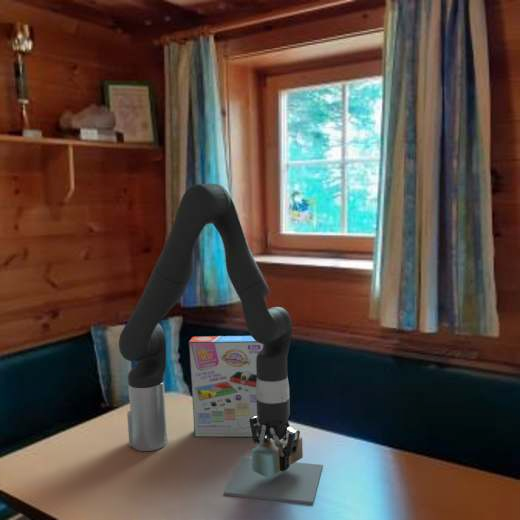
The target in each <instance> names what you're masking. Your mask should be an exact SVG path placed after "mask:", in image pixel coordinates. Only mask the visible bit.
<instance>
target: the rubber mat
mask: <svg viewBox="0 0 520 520" xmlns="http://www.w3.org/2000/svg"><path fill="white" fill-rule="evenodd" d="M323 466H324V465H323V464H319V463H318V464H317V463H307V462H298V461H296V462H295V463H293V464H291V465H289V468H288V469H287V470H285V471H284V472H282V471H279V472H278V473H276V474H274V475H273V476H271V477H269V478H267V477H265V476H263V475H261V474H258V473H256V472H254V471H252V457H242V458H241V459H240V462H239V463H238V465H237V467H236V469H235V471H234V473H233V474H232V476H231V478H230V480H229V481H228V483H227V485H226V487H225V489H224V491H223V495H224V496H233V497H242V498H248V499H249V498H251V499H259V500H260V499H261V500H270V501H276V502H277V501H280V502H287V503H288V502H289V503H297V504H306V505H307V504H308V505H314V503H315V498H316V493H317V490H318V487H319V483H320V479H321V476H322V471H323V468H324V467H323Z"/></svg>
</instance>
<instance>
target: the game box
mask: <svg viewBox="0 0 520 520" xmlns="http://www.w3.org/2000/svg"><path fill="white" fill-rule="evenodd" d="M263 347H264V344H261V343H259V342H257V341H256V340H254V339H253V337H252V336H251V335H225V336H224V335H215V336H214V335H212V336H211V335H209V336H206V335H205V336H203V335H202V336H198V335H197V336H192V337H191V339H190V340H189V341H188V349H189V350H188V351H189V366H190V381H191V383H190V384H191V395H192V397H191V398H192V412H193V435H194V437H196V438H197V437H199V438H200V437H202V438H203V437H204V438H205V437H212V438H213V437H215V438H217V437H219V438H221V437H223V438H253V436H252V432H251V427H250V422H249V419H250V418H252V417H254V416H256V415H257V401H256V382H257V370H256V358H257V355H258V353H259V352H260V351H261V350H262V348H263ZM258 436H259V435H258V432H257V437H258Z"/></svg>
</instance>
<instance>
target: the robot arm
mask: <svg viewBox="0 0 520 520" xmlns="http://www.w3.org/2000/svg"><path fill="white" fill-rule="evenodd" d="M208 224H212V225H213V226H214V228H215V229H216V231H217V232H218V233H219V236H220V238H221V241H222V244H223V248H224V255H225V257H224V258H225V266H226V271H227V276H228V278H229V281H230V282H231V285H232V286H233V288H234V290H235V292H236V295H237V297H238V298H239V300H240V303H241V309H242V313H243V318H244V321H245V326H246V328H247V331H248V333H249V334H250V335H249V336H252V337H253V339H254V340H256V341H257V342H259V343H261V344H264V347H263V348H262V350H261V351H260V352H259V353H258V355H257V358H256V370H257V382H256V401H257V415H256V416H254V417H252V418H250V419H249V422H250V427H251V432H252V436H253V437H252V440H253V443H254V444H257V445H258V446H260V445H262V444H265V443H266V442H267V441H270V440H271V439H273V440H274V442H275V445H276V447H278V450H279V453H280V456H279V457H280V471H282V472H284V471H285V470H287V469H288V468H289V456H291V455H293V454H295V453H296V452H297V447H298V441H299V437H301V436H300V435H301V431H300V430H299V429H293V428H292V427H291V425H290V422H289V417H290V414H291V409H290V408H291V407H290V403H291V402H290V384H289V383H290V382H289V378H288V377H289V375H288V373H289V372H288V354H289V351H290V346H291V339H292V333H293V321H292V318H291V316H290V314H289V312H288V311H287V310H286V309H285V308H284V307H280V306H272V307H271V308H268V307H267V306H268V305H267V302H266V298H267V297H268V296H269V294H270V288H269V285H268V283H267V281H266V279H265V278H264V276H263V273H262V271H261V270H260V268H259V265H258V263H257V262H256V260H255V257H254V255H253V253H252V251H251V249H250V246H249V243H248V241H247V238H246V234H245V232H244V230H243V226H242V224H241V221H240V218H239V214H238V212H237V208H236V205H235V202H234V200H233V197H232V195H231V193H230V191H229V190H228V189H227V188H226V187H225V186H224V185H221V184H218V183H196V184H194V185H190V186H189V187H188V188H187V189H186V190H185V192H184V193H183V195H182V197H181V199H180V202H179V205H178V209H177V211H176V215H175V218H174V220H173V224H172V227H171V230H170V232H169V235H168V237H167V239H166V241H165V244H164V246H163V249H162V250H161V253H160V255H159V257H158V259H157V260H156V263H155V265H154V268H153V270H152V272H151V274H150V277H149V279H148V281H147V284H146V286H145V288H144V290H143V292H142V294H141V297H140V298H139V300H138V303H137V305H136V307H135V309H134V311H133V312H132V314H131V316H130V317H129V319H128V320H127V323H126V324H125V326H124V327H123V328H122V330H121V331H120V332H121V333H120V335H119V339H118V349H119V353H120V355H121V356H122V357H123V358H124V360H126V361H128V362H136V364H135V366H134V367H132V369H131V370H130V371H129V372H128V374H127V382H128V395H129V410H128V412H127V414H126V417H127V432H128V444H129V446H128V447H129V448H133V449H135V450H137V451H141V452H150V451H151V452H152V451H157V450H159V449H162V448H163V447H165V446H166V445H167V444H168V430H167V429H168V427H167V413H166V411H167V410H166V396H165V395H166V394H165V380H164V379H165V377H164V376H165V373H166V370H167V340H166V335H165V334H166V333H165V331H164V328H163V327H162V325H161V324H160V321H161V320H162V319H163V318H164V317H165V316H166V315H167V314H168V312H169V311H170V310H171V309H172V308H174V306H175V305H176V304H177V303H179V302H178V301H180V299H181V298H182V297H183V296H184V293H185V292H186V290H187V288H188V286H189V284H190V282H191V281H192V277H193V275H194V269H195V257H194V250H195V247H196V243H197V241H198V240H199V237H200V235H201V232H202V231H203V229H204V228H205V227H206V226H207V225H208ZM257 432H258V435H259V436H258V437H257ZM281 439H283V440H282V441H280V440H281ZM283 445H284V447H285V450H284V449H283Z"/></svg>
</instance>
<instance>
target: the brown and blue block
mask: <svg viewBox="0 0 520 520" xmlns="http://www.w3.org/2000/svg"><path fill="white" fill-rule="evenodd" d="M282 440H283V439H281V440H280V441H282ZM283 449H284V450H285V447H284V445H283ZM250 451H251V452H250V453H251V458H252V471H254V472H256V473H258V474H261V475H263V476H265V477H267V478H269V477H271V476H273V475H274V474H276V473H278V472H279V471H280V457H279V456H280V453H279V450H278V447H276V445H275V442H274V440H273V439H271V440H270V441H267V442H266V443H265V444H262V445H260V446H259V445H258V446H256V447H254V448H253V449H251V450H250ZM303 451H304V450H303V437H302V436H299V441H298V447H297V452H296V453H295V454H293V455H291V456H289V465H291V464H293V463H295V462H298V461H299V460H301V459H303V458H304V457H303V456H304V455H303Z"/></svg>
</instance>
